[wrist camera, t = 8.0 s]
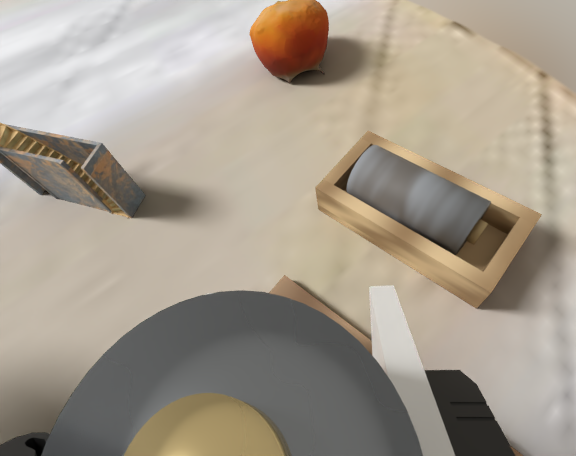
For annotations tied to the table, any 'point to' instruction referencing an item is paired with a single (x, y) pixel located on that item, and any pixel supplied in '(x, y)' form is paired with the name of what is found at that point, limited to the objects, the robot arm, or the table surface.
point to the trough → (426, 216)
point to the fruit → (291, 37)
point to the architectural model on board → (69, 169)
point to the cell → (235, 387)
